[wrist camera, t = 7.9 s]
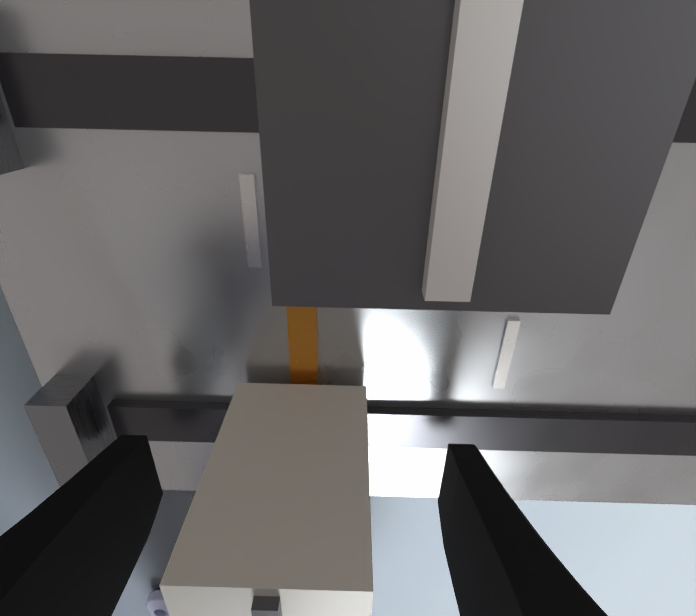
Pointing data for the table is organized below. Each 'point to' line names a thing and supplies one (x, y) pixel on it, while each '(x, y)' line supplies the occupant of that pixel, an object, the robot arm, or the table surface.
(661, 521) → the table surface
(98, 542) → the robot arm
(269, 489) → the block
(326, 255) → the fader charcoal
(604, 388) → the console
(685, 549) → the table surface
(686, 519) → the table surface
